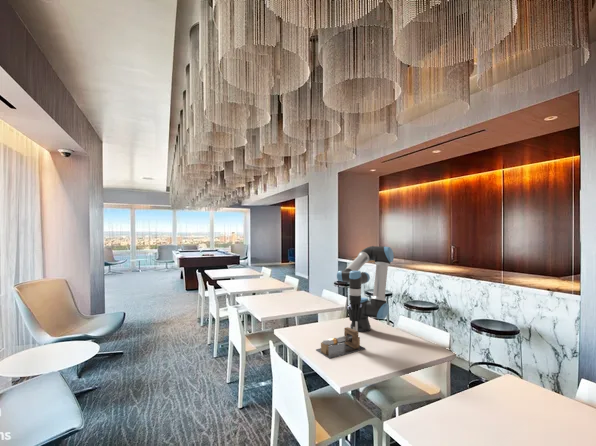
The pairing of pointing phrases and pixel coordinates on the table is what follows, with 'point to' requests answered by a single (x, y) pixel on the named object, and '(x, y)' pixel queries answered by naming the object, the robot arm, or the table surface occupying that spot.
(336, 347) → the pipe rig
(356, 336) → the collar
